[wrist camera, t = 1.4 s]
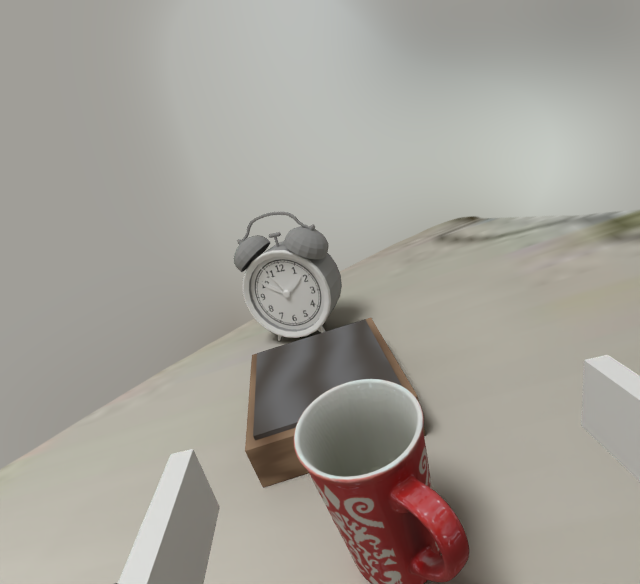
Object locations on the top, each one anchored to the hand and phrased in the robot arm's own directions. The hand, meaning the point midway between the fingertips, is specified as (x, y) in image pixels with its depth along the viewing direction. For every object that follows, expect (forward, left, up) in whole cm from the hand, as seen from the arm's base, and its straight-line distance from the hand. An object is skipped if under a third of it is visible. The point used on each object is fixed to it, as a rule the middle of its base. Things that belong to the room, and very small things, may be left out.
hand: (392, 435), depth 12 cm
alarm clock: (+4, -50, -22) cm, 54 cm away
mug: (0, -9, -22) cm, 24 cm away
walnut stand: (+3, -29, -22) cm, 36 cm away
